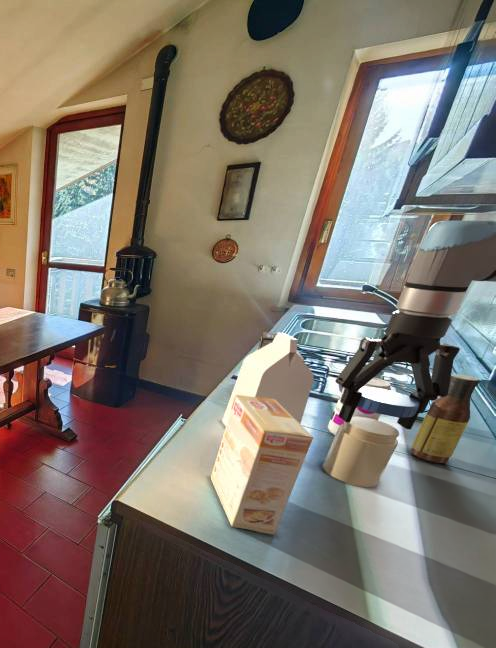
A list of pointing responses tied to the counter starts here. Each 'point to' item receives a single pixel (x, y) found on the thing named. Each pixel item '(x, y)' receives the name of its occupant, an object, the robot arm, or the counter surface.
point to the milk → (275, 377)
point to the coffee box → (266, 339)
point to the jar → (361, 451)
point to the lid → (387, 402)
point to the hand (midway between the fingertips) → (373, 422)
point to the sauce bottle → (445, 421)
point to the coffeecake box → (258, 462)
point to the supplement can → (359, 412)
